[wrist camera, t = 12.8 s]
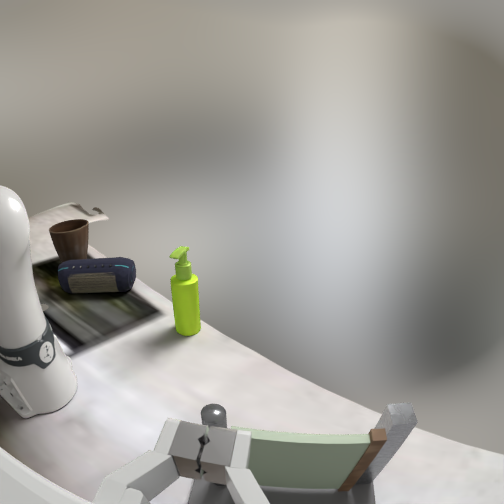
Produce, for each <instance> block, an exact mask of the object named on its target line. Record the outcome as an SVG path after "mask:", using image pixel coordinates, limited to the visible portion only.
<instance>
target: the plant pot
mask: <svg viewBox="0 0 504 504" xmlns="http://www.w3.org/2000/svg"><path fill="white" fill-rule="evenodd" d="M49 232H50V235H51V238H52V241H53V244H54V247H55V249H56V251H57V254H58V256H59V258H60V260H61V261H62V263H63V262H65V261H68V260H80V259H86V258H87V250H88V221H87V220H83V219H76V220H69V221H64V222H61V223H58V224H56V225H54V226H52V227H51V228H50V229H49Z"/></svg>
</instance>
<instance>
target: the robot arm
mask: <svg viewBox="0 0 504 504" xmlns="http://www.w3.org/2000/svg"><path fill="white" fill-rule="evenodd" d="M29 234H30V226H29V220H28V216H27V212H26V210H25V207H24V204H23V203H22V201H21V199H20V198H19V196H18V195H17V194H16V193H15V192H13V191H12V190H11V189H9V188H7V187H4V186H1V185H0V395H1V396H2V397H3V398H4V399H5V400H6V402H7V403H8V404H9V405H10V406H11V407H12V408H13V409H14V410H15V411H16V412H17V413H18V414H19V415H20V416H21V417H22V418H29V417H32V416H34V415H36V414H41V413H49V412H53V411H56V410H58V409H60V408H62V407H63V406H65V405H66V404H67V403H68V402H69V401H70V400H71V399H72V397H73V396H74V394H75V392H76V389H77V377H76V375H75V373H74V372H73V370H72V361H71V359H70V357H68V356H66V355H65V353H64V352H63V350H62V348H61V346H60V344H59V342H58V340H57V338H56V336H55V335H53V333H52V328H51V326H50V324H49V322H48V320H47V318H46V317H45V316H44V314H43V311H42V307H41V304H40V301H39V298H38V294H37V291H36V287H35V283H34V278H33V271H32V260H31V250H30V241H29ZM251 436H252V431H243V430H237V429H228V428H221V427H213V426H211V427H210V428H208V426H206V425H201V424H195V423H190V422H185V421H182V420H177V419H172V418H168V419H167V420H166V422H165V424H164V427H163V429H162V431H161V434H160V436H159V439H158V441H157V443H156V446H155V448H154V451H152V450H149V451H147V452H146V453H144V454H143V455H141V456H139V457H138V458H136V459H135V460H133V461H131V462H130V463H128V464H126V465H125V466H123V467H121V468H119V469H118V470H116V471H114V472H113V473H111V474H109V475H107V476H106V477H104V479H103V481H102V483H101V486H100V488H99V490H98V492H97V494H96V496H95V498H94V500H93V502H92V503H91V502H89V501H87V500H85V499H82V498H80V497H78V496H76V495H74V494H73V493H71V492H69V491H67V490H65V489H63V488H61V487H60V486H58V485H56V484H54V483H53V482H51V481H49V480H47V479H46V478H44V477H43V476H41V475H39V474H38V473H36V472H35V471H33V470H31V469H30V468H28V467H27V466H25V465H24V464H23V463H21V462H20V461H18V460H17V459H15V458H14V457H13V456H11V455H10V454H9V453H7V452H6V451H5V450H3V449H2V448H1V447H0V504H150V502H149V501H151V500H152V499H153V498H154V497H156V496H157V495H158V494H160V493H161V492H162V491H163V490H165V489H166V488H167V487H168V486H170V485H171V484H172V483H173V482H174V481H176V480H177V479H178V478H179V476H182V477H187V478H192V479H197V480H201V479H202V476H204V480H205V481H208V482H213V483H218V484H224V485H227V488H228V490H229V492H230V494H231V496H232V498H233V500H234V502H235V504H270V503H269V501H268V500H267V498H266V496H265V495H264V493H263V491H262V490H261V488H260V486H259V485H258V483H257V481H256V479H255V478H254V476H253V474H252V472H251V471H250V469H248V464H249V458H250V448H251ZM203 472H204V473H203Z"/></svg>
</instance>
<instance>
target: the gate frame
mask: <svg viewBox="0 0 504 504" xmlns="http://www.w3.org/2000/svg"><path fill="white" fill-rule="evenodd" d="M201 418H202V424H203V425H206V426H208V428H210V427H211V426H213V427H221V428H227V422H226V410H225V409H224V408H223V407H222V406H221V405H218V404H209V405H206V406H205V407H203V409H202V410H201ZM416 424H417V419H416V416H415V413H414V410H413V407H412V404H411V403H399V404H388V405H387V407H386V408H385V410H384V412H383V414H382V416H381V418H380V420H379V421H378V423H377V425H376V427H375V428H374V429H382V428H385V431H386V436H387V441H386V442H385V444H384V445H383V447H382V448H381V450H380V451H379V453H378V454H377V455H376V457H375V458H374V460H373V461H372V462H371V464H370V465H369V466H368V468H367V469H366V470H365V472H364V473H363V474H362V476H361V477H360V478H359V479H358V481H357V482H356V483H355V484H354V486H353V487H352V488H351V489H350V490H349V491H338V489H302V488H283V487H271V486H261V485H259V486H260V488H261V490H262V491H263V493H264V495H265V496H266V498H267V500H268V501H269V503H270V504H375V495H374V486H373V480H374V479H375V478H376V476H377V475H378V474H379V473H380V472H381V471H382V469H383V468H384V467H385V466H386V464H387V463H388V462H389V461H390V459H391V458H392V457H393V456H394V454H395V453H396V452H397V450H398V449H399V448H400V446H401V445H402V444H403V442H404V441H405V439H406V438H407V437H408V435H409V434H410V432H411V431H412V430H413V428H414V427H415V425H416ZM203 473H204V472H203ZM188 504H235V502H234V500H233V498H232V496H231V494H230V492H229V490H228V488H227V485H224V484H218V483H213V482H208V481H205V480H204V476H202V479H201V480H197V479H195V481H194V484H193V488H192V491H191V495H190V498H189V502H188Z"/></svg>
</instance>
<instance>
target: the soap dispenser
mask: <svg viewBox="0 0 504 504" xmlns="http://www.w3.org/2000/svg"><path fill="white" fill-rule="evenodd" d="M188 250H189V247H183V246H181V247H179V248H177V249H176V250H175V251H174V252H172V254H171V255H170V258H173V259H179V261H178V262H176V263H175V270H176V275H174V276H172V277H171V291H172V300H173V310H174V318H175V326H176V331H177V332H178V333H179V334H181V335H184V336H191V335H195V334H197V333H198V332H199V331H200V329H201V325H200V311H199V293H198V277H197V276H196V275H194V274H192V271H191V262H189V261H187V253H186V252H187V251H188Z"/></svg>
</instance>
